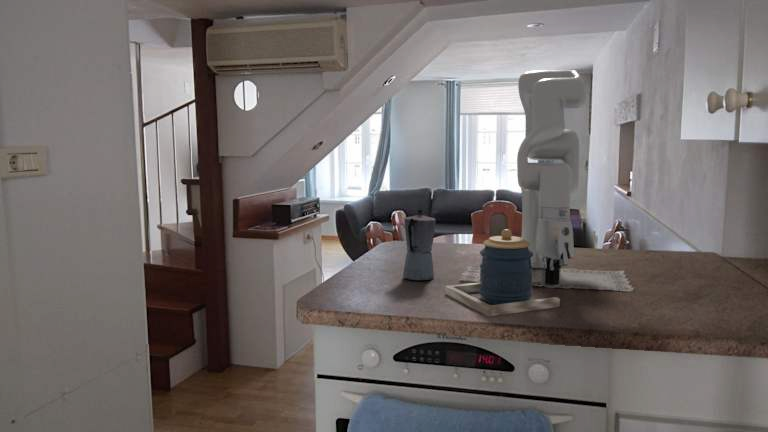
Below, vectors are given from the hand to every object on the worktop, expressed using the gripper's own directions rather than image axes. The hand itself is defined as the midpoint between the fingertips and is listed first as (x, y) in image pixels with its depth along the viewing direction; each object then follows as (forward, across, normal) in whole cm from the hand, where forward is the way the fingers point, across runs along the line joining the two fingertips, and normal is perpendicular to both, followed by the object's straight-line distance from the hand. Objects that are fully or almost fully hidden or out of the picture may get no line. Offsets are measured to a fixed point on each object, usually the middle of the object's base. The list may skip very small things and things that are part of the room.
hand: (552, 283), depth 144 cm
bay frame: (+2, 0, +15) cm, 15 cm away
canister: (+3, 0, +14) cm, 14 cm away
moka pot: (+3, +27, +26) cm, 38 cm away
